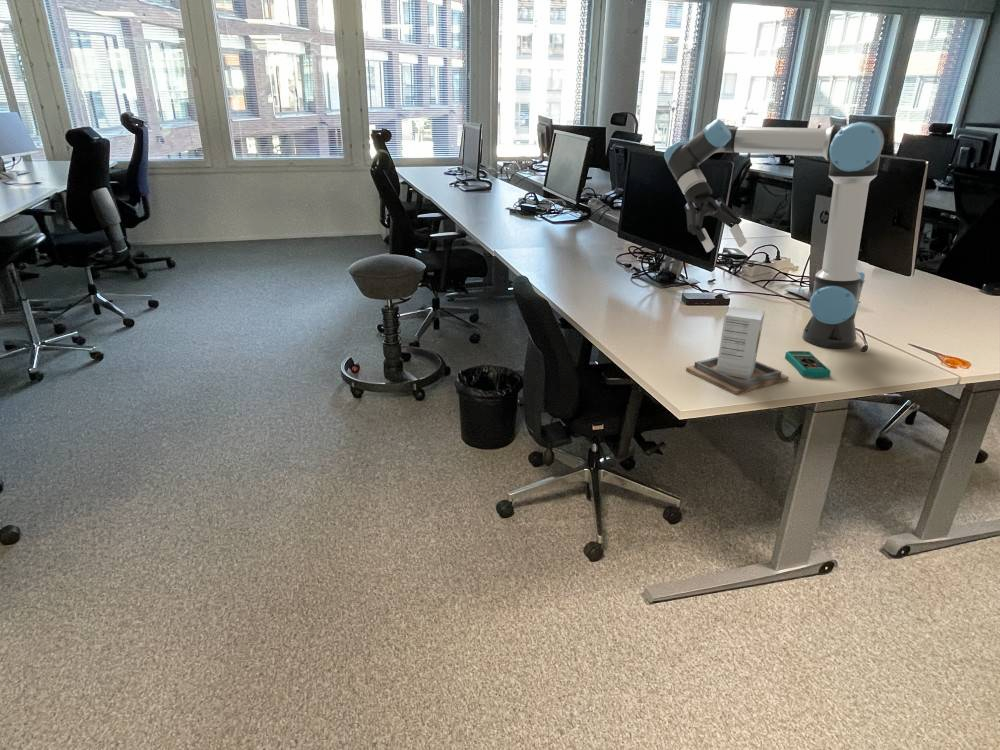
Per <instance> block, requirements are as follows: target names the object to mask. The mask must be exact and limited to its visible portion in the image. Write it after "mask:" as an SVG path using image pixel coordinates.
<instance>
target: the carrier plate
mask: <svg viewBox="0 0 1000 750" xmlns="http://www.w3.org/2000/svg"><path fill="white" fill-rule="evenodd" d="M717 362H718V356H715V357H711V358H707V359H704V360H699V361H695V362H694V365H690V366H686V369H685V371H686V372H688V373H690V374H692V375H694V376H696V377H698V378H701V379H702V380H705V381H707V382H709V383H710V384H713V385H715V386H717V387H719V388H721V389H723V390H725V391H727V392H729V393H732V394H733V395H740V394H743V393H749V392H751V391H754V390H758V389H761V388H762V389H763V388H764V387H765V388H766V387H769V386H772V385H776V384H779V383H782V382H785V381H789V378H790V376H788V375H785V374H784V373H782V371H781V370H779V369H776V368H774V367H772V366H769V365H766V364H764V363H762V362H759V361H757V360H756V362H755V368H754V371H753V374H752V376H751V378H749V379H745V378H739V377H734V376H728V375H726V374H723V373H721V372H719V371H717V370H716V369H717Z"/></svg>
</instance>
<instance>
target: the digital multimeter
mask: <svg viewBox="0 0 1000 750" xmlns="http://www.w3.org/2000/svg"><path fill="white" fill-rule="evenodd" d="M784 355H785V356H784V359H785V360H786V361H787V362H788V363H790V364H791V365H792V366H793V368H795V369H796V371H797V372H798V371H799V372H798V373H799V374H800V375H801V376H802V377H804V378H811V379H812V378H813V379H814V378H815V379H816V378H817V379H818V378H819V379H820V378H823V379H824V378H825V377H826V378H830V376H831V370H830V368H828V367H827V366H826V365H825V364H824V363H822V362H821V361H820V360H819V359H818V358H817V357H816V356H815V355H814V354H813V353H812V352H811V351H807V350H806V351H805V350H789V351H786V352H785V354H784Z"/></svg>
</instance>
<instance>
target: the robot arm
mask: <svg viewBox="0 0 1000 750" xmlns="http://www.w3.org/2000/svg"><path fill="white" fill-rule="evenodd" d="M884 145H885V136H884V133H883V130H882V129H881V127H879V126H878V125H876V124H875V123H872V122H870V121H858V122H852V123H850V124H833V125H831V126H830V127H828V128H827V127H825V128H823V127H821V128H819V127H774V126H773V127H771V126H765V127H763V126H728V125H726V124H725V122H724V121H722V120H721V119H714V120H713V121H712V122H710V123H708V124H707V125H706V126H705V127H704V128H703V129H702V130H700V131H699V132H698V133H697V134H696V135H695V136H694V137H692V138H691V139H690V140H688V142H685V141H683V140H680V141H676V142H674V143H672V144H670V145H669V146H668V147H667V148H666V150H665V151H664V153H663V157H664V160H665V162H666V164H667V167H668V169H669V171H670V172H671V174H672V176H673V178H674V180H675V181H676V183H677V185H678V187H679V188H680V190H681V193H682V194H683V195H684V198H685V200H686V202H687V203H686V204H685V205H684V206H683V207H684V208H683V209H684V210H685V214H686V224H687V226H686V227H687V232H688V233H691V234H692V235H693V236H695V235H696V237H697V238H698V240H699V242H700V243H701V244H702V246H703V248H704V250H705V252H706V253H709V252H711V251H712V250H713V249H714V248H715V245H714V243H713V241H712V239H711V238H710V236H709V234H708V231H707V230H706V228H705V227H703V222H704V217H708V216H711V217H712V218H716V219H718V221H720V222H722V223H723V224H725V225H726V226H727V227H729V232H730V233H731V235H732V237H733V238H734V241H735V242H736V245H738V247H739V248H742V247H744V245H745V244H747V243H748V241H747V239H746V237H745V236H744V233H743V231H742V229H741V227H740V224H741V223H742V221H743V219H742V218H741V217H739V216H738V214H737V213H736V212H734V211H733V210H732V209H731V208H730V207H729V206H728V205H727V204H726V203H725V201H724V200H723V199H722V197H718V198H717V199H714V198H713V196H712V195H713V190H712V188H711V186H710V185H709V183H708V182H707V179H706V177H705V175H704V174H703V172H702V170H701V168H700V167H699V165H701V164H702V163H703V162H705V161H706V160H708V158H710V157H711V156H712V155H714V154H716V153H717V154H718V153H731V154H733V153H738V154H739V153H741V154H763V155H765V154H766V155H767V154H768V155H782V156H783V155H789V156H805V157H807V156H808V157H809V156H810V157H823V158H824V159H825V160H826V161H830V162H829V163H830V164H829V170H828V178H829V179H831V181H832V182H833V186H832V193H831V201H830V208H829V216H828V223H827V229H826V237H825V244H824V252H823V253H824V254H823V259H822V268H821V269H820V270H819V271H818V272H816V273H815V276H814V282H813V290H812V295H811V297H810V299H809V310H810V312H811V314H812V316H811V317H810V319H809V320H808V322H807V324H806V325H805V327H804V329H803V333H802V338H803V340H805V342H807V343H810V344H813V345H816V346H819V347H825V348H830V349H850V348H853V347H854V346H855V345H856V342H857V333H856V325H855V324H856V323H855V319H856V314H857V309H858V306H859V302H860V298H861V295H862V294H861V293H862V289H863V286H864V283H865V277H866V275H865V273H864V272H863V271H862V270H861V271H860V270H857V266H858V258H859V252H860V245H861V239H862V232H863V226H864V222H865V221H864V219H865V214H866V213H865V212H866V209H867V208H866V207H867V201H868V200H867V199H868V193H869V189H870V188H869V187H870V183H871V181H873V180H874V179H875V178H876V177H877V176H878V171H879V166H880V160H881V153H882V150H884Z"/></svg>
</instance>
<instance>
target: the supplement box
mask: <svg viewBox="0 0 1000 750" xmlns="http://www.w3.org/2000/svg"><path fill="white" fill-rule="evenodd" d="M764 318H765V311H764V310H757V309H750V308H743V307H736V306H730V307H729V308H728V311H727V312H726V313H725V314H724V318H723V326H722V331H721V338H720V345H719V350H718V355H717V357H718V362H717V369H716V370H717V371H719V372H721V373H723V374H726V375H728V376H734V377H739V378H745V379H749V378H751V376H752V374H753V371H754V368H755V362H756V361H757V356H758V350H759V345H760V341H761V335H762V330H763V323H764Z"/></svg>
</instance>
